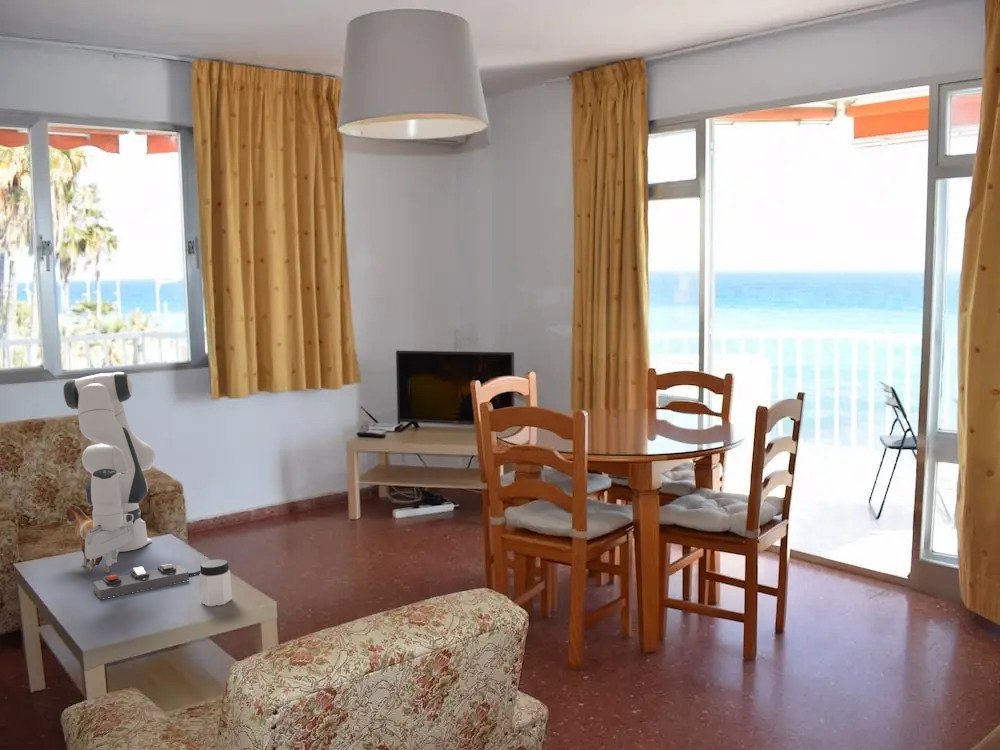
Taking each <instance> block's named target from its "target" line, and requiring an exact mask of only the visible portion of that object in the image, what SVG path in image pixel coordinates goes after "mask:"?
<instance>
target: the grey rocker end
mask: <svg viewBox="0 0 1000 750" xmlns="http://www.w3.org/2000/svg"><path fill="white" fill-rule="evenodd" d="M159 566H160V568H161V569H163V570H167V569H171V568H173V566H174V565H173V563H167V564H166V563H165V564H160V565H159Z"/></svg>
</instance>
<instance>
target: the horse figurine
mask: <svg viewBox="0 0 1000 750" xmlns="http://www.w3.org/2000/svg"><path fill="white" fill-rule="evenodd" d="M67 505H68V506H66V505H63V507H64V508H65V510H66V511H65V515H66V516H67V521H66V523H67V524H68V525H70V526H71V525H73V523H74V521H76V525H75V531H74V533H75V535H76V537H77V538H78V541H79V543H80V544H81V551H82V553H83V562H82V564H81V567H83V566H84V567H87V561H90V563H89V573H93V572H94V571H95V569H94V568H95V566H99V565H100V564H101V562H102V560H103V558H104V557H103V556H101V557H99V558H97V559H91V560H90V559H88V558H86V556H85V538H86V535H87V533H88V532H89V530H90V529H91V528H93V519H92V518H90V517H89V516H87V515H86V513H84V511H83V510H82V509H81V508H80V507H79V506H78V505H77V506H76V505H74V504H67ZM105 567H106V568H105V570H104V573H105V574H107V573H110V572H111V571H110V567H111V566H107V565H106V564H105Z"/></svg>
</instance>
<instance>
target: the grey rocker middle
mask: <svg viewBox="0 0 1000 750" xmlns="http://www.w3.org/2000/svg"><path fill="white" fill-rule="evenodd" d="M133 571H134V573H135V575H136V576H141V575H146V572H145V571H146V569H144V567H143V566H138V567H133V568H132V572H133Z"/></svg>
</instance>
